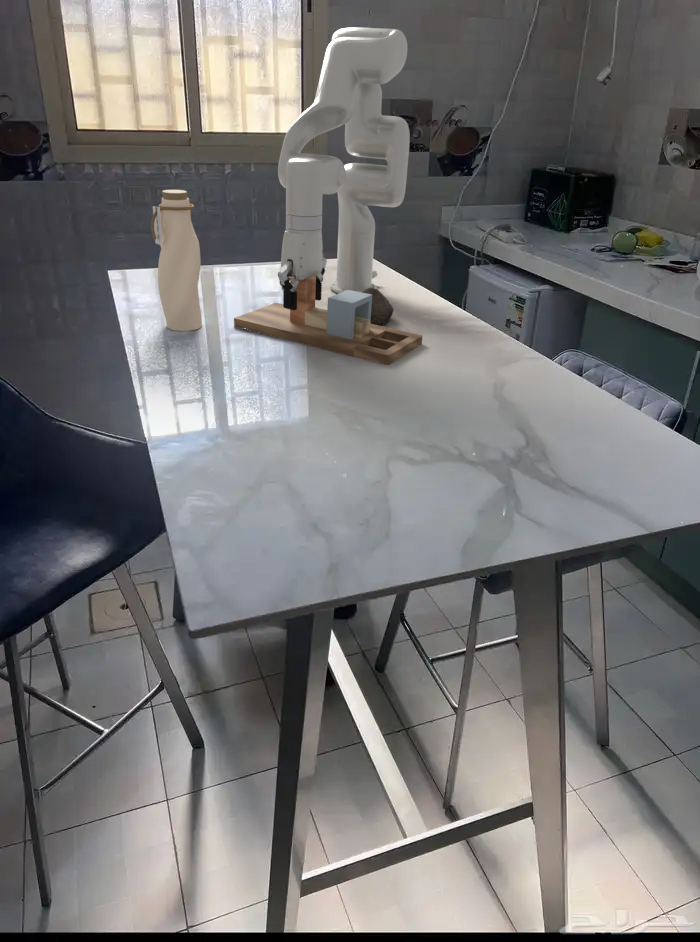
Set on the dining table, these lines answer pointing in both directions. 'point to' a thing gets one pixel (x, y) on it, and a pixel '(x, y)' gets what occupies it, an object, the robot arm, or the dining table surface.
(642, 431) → the dining table surface
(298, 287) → the l-shaped wooden block
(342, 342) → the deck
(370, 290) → the stone
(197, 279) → the water bottle
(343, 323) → the tunnel
